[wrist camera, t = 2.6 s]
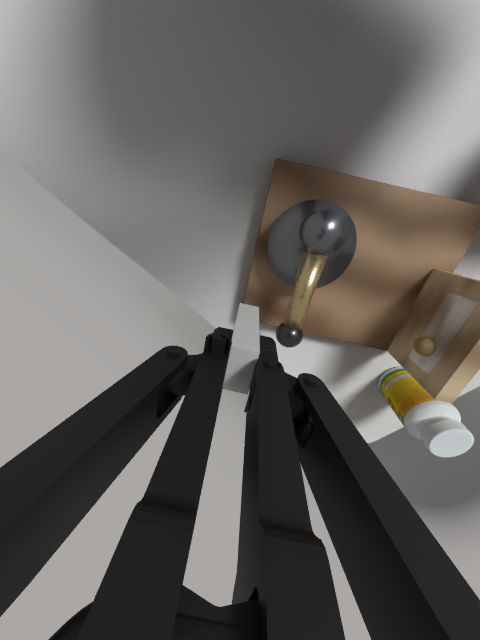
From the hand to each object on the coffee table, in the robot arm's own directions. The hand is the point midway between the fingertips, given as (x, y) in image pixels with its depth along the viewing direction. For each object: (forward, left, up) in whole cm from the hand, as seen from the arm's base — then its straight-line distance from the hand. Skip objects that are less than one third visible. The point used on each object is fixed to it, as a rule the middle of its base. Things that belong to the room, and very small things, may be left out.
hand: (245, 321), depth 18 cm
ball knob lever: (-3, +5, -8) cm, 10 cm away
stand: (-4, +10, -10) cm, 15 cm away
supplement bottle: (+9, +23, -11) cm, 26 cm away
